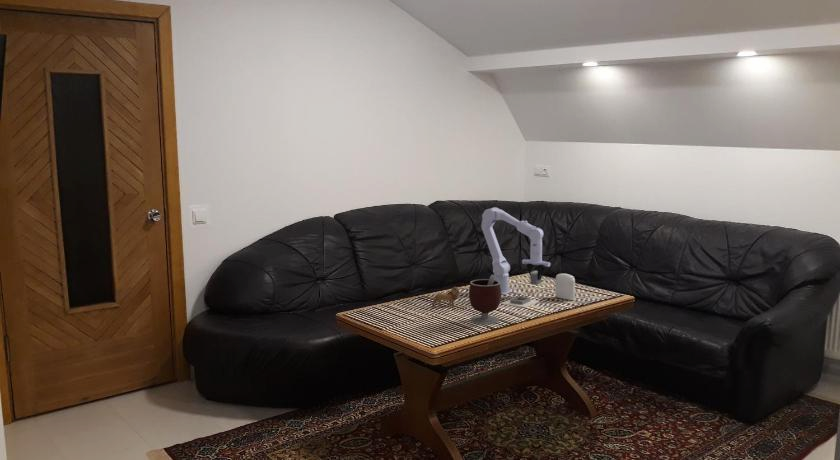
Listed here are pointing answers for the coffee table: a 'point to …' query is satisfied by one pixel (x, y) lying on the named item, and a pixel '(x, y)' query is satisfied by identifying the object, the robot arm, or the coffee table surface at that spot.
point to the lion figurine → (447, 297)
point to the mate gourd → (485, 299)
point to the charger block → (534, 278)
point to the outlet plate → (520, 302)
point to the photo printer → (565, 286)
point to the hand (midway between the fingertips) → (535, 279)
